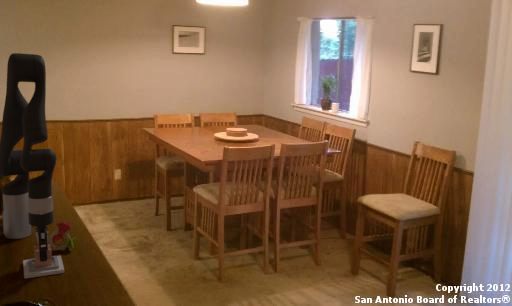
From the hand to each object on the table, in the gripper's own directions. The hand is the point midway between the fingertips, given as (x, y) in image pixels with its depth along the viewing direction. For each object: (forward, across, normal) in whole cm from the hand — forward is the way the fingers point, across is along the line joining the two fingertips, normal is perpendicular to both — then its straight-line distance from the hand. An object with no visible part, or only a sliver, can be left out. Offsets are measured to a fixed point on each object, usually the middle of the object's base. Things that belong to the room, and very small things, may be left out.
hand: (42, 255), depth 169 cm
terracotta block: (+3, 0, 0) cm, 3 cm away
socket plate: (+4, 0, 0) cm, 4 cm away
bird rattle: (+5, -14, +8) cm, 16 cm away
